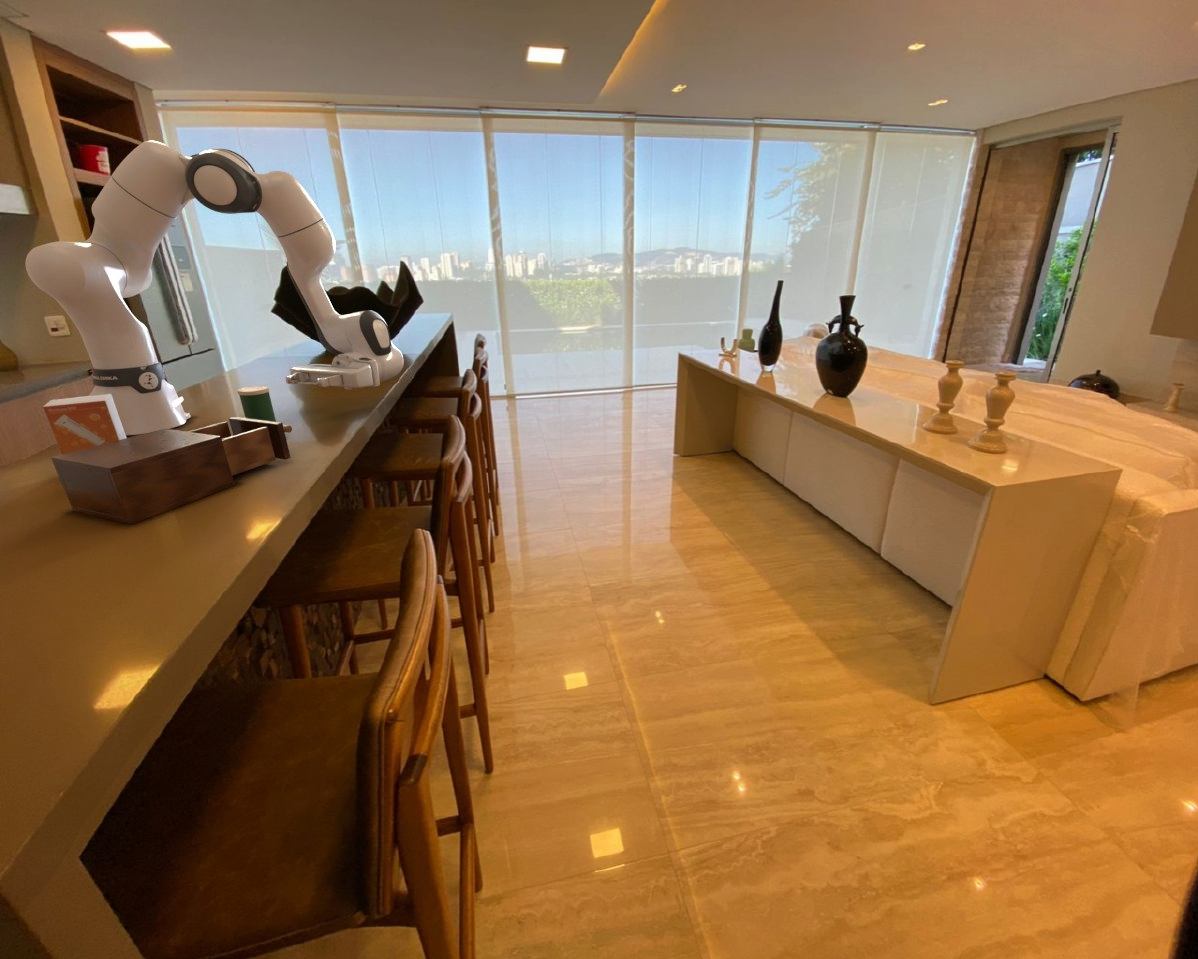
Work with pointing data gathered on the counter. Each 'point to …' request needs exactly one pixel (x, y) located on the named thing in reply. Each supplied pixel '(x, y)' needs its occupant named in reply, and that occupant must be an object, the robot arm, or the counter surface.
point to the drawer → (250, 442)
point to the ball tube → (257, 403)
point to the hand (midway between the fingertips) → (303, 382)
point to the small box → (84, 422)
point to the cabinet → (144, 474)
